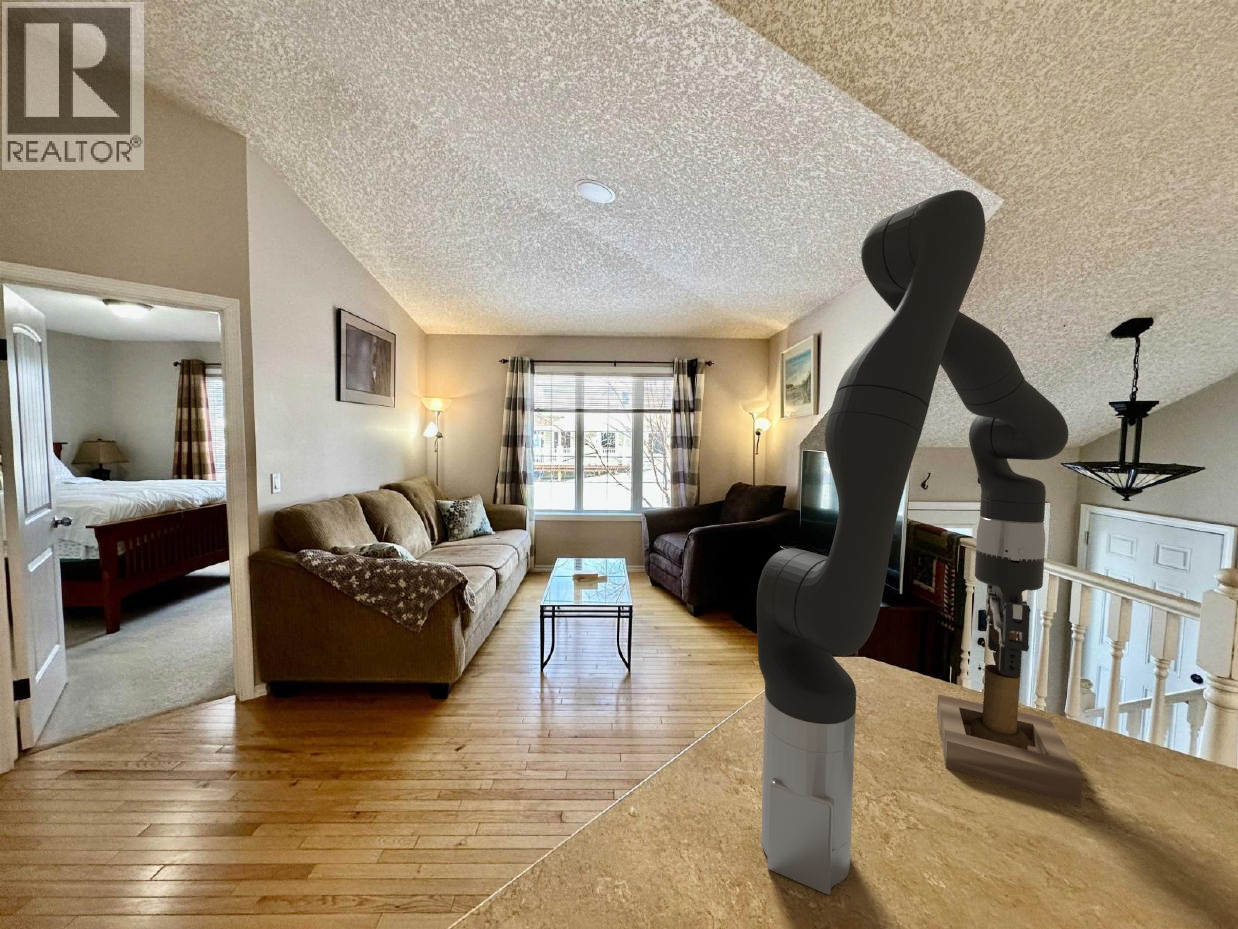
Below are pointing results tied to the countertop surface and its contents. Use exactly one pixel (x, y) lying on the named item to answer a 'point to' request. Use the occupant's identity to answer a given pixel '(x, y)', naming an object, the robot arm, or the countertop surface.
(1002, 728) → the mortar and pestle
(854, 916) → the countertop surface
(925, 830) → the countertop surface
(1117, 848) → the countertop surface
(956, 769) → the brown flat square frame
